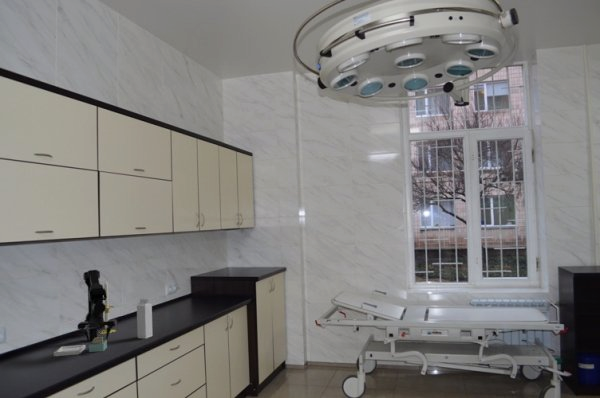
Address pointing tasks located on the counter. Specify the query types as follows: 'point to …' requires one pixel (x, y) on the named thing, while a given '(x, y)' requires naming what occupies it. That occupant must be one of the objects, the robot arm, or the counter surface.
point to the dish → (69, 350)
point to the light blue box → (98, 346)
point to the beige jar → (98, 340)
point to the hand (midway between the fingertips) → (97, 340)
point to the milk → (144, 319)
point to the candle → (107, 309)
